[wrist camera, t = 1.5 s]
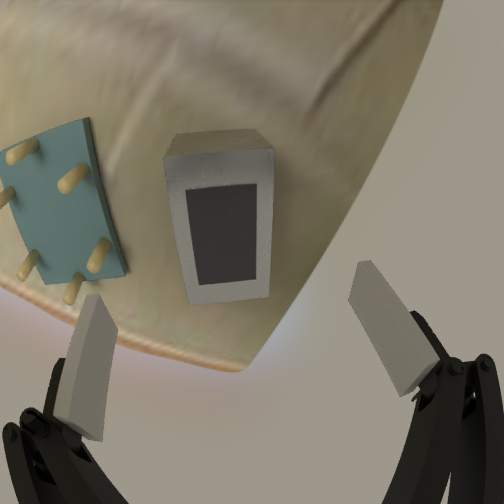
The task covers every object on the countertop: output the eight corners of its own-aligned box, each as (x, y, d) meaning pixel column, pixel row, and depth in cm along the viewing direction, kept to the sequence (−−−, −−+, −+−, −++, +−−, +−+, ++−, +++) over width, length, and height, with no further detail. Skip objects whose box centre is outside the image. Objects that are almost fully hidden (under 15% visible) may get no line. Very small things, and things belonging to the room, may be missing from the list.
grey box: (175, 134, 19) (162, 158, 13) (253, 128, 20) (275, 149, 14) (190, 251, 25) (189, 306, 20) (253, 245, 26) (269, 297, 20)
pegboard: (2, 150, 15) (-28, 169, 11) (88, 116, 16) (61, 127, 12) (49, 277, 24) (33, 307, 20) (127, 268, 25) (118, 302, 21)
